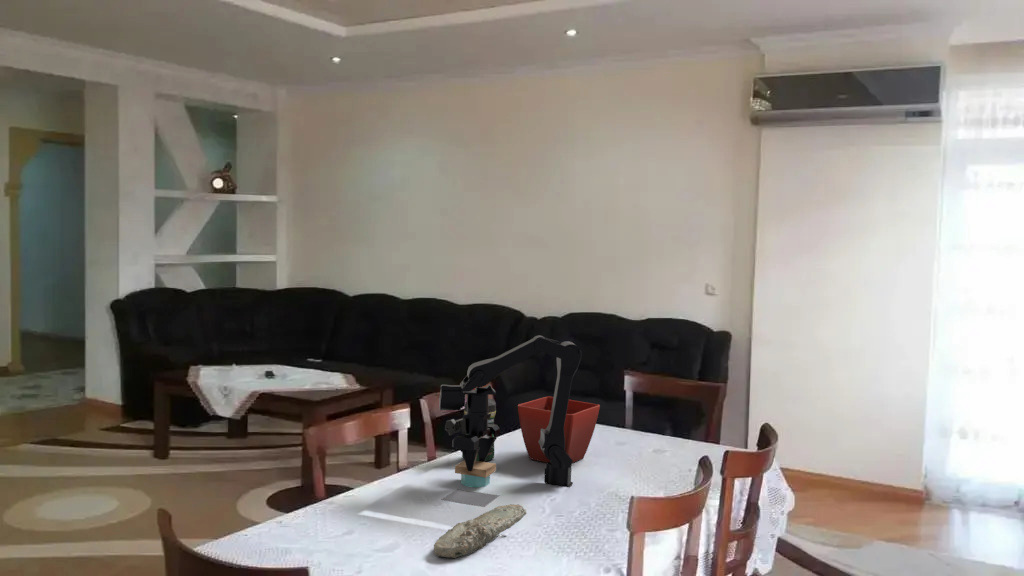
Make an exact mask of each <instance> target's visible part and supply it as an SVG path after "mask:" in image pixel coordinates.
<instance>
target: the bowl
mask: <svg viewBox="0 0 1024 576" xmlns="http://www.w3.org/2000/svg"><path fill="white" fill-rule="evenodd" d="M490 479H491V474H490V475H489V476H488V477H486V478H485V477H478V476H472V475H465V474H460V483H461V484H462V485H463V486H464V487H470V488H482V487H487V486H488V485H490V484H491V482H490V481H491V480H490Z"/></svg>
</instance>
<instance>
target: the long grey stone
mask: <svg viewBox="0 0 1024 576" xmlns="http://www.w3.org/2000/svg"><path fill="white" fill-rule="evenodd" d="M526 514H527V509H525V508H524V506H523V505H520V504H519V503H518V504H505V505H499V506H497V507H495V508H493V509H491V510H489V511H485V512H484V513H482V514H480V515H479V516H476V517H475V518H473V519H468V520H466V521H462V522H458V523H456V524H455V525H454V526H453V527H452V528H451V529H448V530H447V532H445V533H444V534H443V535H441V536H439V538H438V539H437V540H436V541H435V543H434V544H433V551H434V554H435V555H436V556H438V557H442V558H452V559H456V558H458V557H461V556H466V555H469V554H472V553H474V552H475V551H476V550H479V549H484V547H485V546H487V544H488V543H489V542H491V541H492V540H493V541H494V540H495V539H496V537H498V535H500V533H502V532H503V533H504V531H506V530H507V529H510V528H511V527H512V526H514V525H515V524H516V523H517V522H519V521H521V520H522V519H523V517H524V516H525V515H526Z"/></svg>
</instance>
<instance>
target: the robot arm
mask: <svg viewBox="0 0 1024 576" xmlns="http://www.w3.org/2000/svg"><path fill="white" fill-rule="evenodd" d="M539 353H544V354H547V355H549V356H552V357H554V358H556V368H557V369H556V370H557V372H556V373H557V376H556V382H555V387H554V393H553V397H554V398H553V404H552V409H551V415H550V421H549V424H548V426H547V428H546V430H545V429H541V437H540V440H539V441H538V442H539V444H540V447H541V450H542V452H543V453H544V455H545V457H546V458H547V459H548V460H550V461H549V462H548V463H547V462H546V466H545V468H544V476H543V477H544V478H543V482H544V483H545V484H544V485H550V486H556V487H563V488H570V487H571V486H572V485H574V482H573V481H572V466H573V465H572V464H573V463H574V462H573V460H572V459H571V457H570V456H569V455H568V453H567V452H566V451H565V435H564V424H565V418H566V413H567V407H568V401H569V400H570V396H571V395H570V394H571V389H572V384H573V378H574V376H575V374H576V372H577V371H578V370H579V369H578V368H579V365H580V362H581V361H582V358H583V357H582V355H583V353H582V350H581V349H580V347H579V346H578V345H576V344H575V343H573V342H572V341H569V340H568V341H562V342H561V341H558V340H554V339H552V338H551V339H550V338H547V337H544V336H543V335H539V334H538V335H535V336H534V337H533V338H531V339H530V340H529V339H528V341H525V342H523V343H521V344H519V345H518V346H516V347H513V348H512V349H510V350H507V351H505V352H503V353H502V354H500V355H497V356H496V357H492V358H488V359H483V360H480V361H477V362H476V361H475V362H472V364H471V365H469V366H468V369H467V374H466V376H465V377H464V378H463V380H462V381H461V382H460V383H459V384H458V385H453V384H452V385H450V384H441V385H440V391H439V393H440V394H439V402H438V403H439V407H438V408H439V411H461V409H464V408H465V403H466V402H467V413H466V414H464V413H463V415H462V418H459V419H455V418H452V419H447V420H446V421H445V424H444V431H446V432H447V433H448V436H452V435H454V434H457V433H460V434H457V435H456V436H454V437H453V439H452V444H451V447H452V448H456V450H459V451H460V452H461V453H463V456H464V459H463V460H465V463H466V466H467V470H468V471H472V469H473V467H474V464H475V461H476V458H477V455H478V452H479V461H481V462H486V461H485V460H486V458H487V456H488V454H489V452H490V450H491V448H492V446H493V444H494V445H495V442H496V440H497V437H499V436H500V434H501V429H500V427H499V426H498V424H495V423H494V424H488V418H490V417H491V413H488V398H489V395H491V396H492V395H496V394H497V392H496V390H495V389H494V388H493V387H492V386H491V384H490V382H492V381H493V380H494V379H496V377H498V376H499V375H500V374H501V373H503V372H504V371H505V370H508V369H510V368H511V367H513V366H515V365H517V364H520V363H521V362H523V361H526V360H527V359H530V358H531V357H534V356H535V355H538V354H539ZM466 396H467V398H466ZM466 399H467V400H466ZM465 434H468V435H465ZM492 434H493V435H494V437H492ZM572 462H573V463H572Z"/></svg>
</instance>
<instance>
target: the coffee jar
mask: <svg viewBox="0 0 1024 576" xmlns="http://www.w3.org/2000/svg"><path fill="white" fill-rule="evenodd" d="M496 407H497V403H496V401H495V399H493V398H489V397H488V413H491V417H490V418H488V424H495V423H494V422H495V416H496V412H497V408H496ZM463 409H464V410H463V415H464V414H466V413H467V401H465V407H464V408H463ZM465 435H468V434H465ZM492 437H494V435H493V434H492ZM461 453H462V452H461ZM461 456H462V459H463V460H465V459H464V456H463V453H462V454H461ZM494 458H495V443H494V444H493V446H492V448H491V450H490V452H489V454H488V456H487V458H486V460H485V462H487V461H491V460H494ZM476 461H479V452H478V455H477V458H476Z"/></svg>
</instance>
